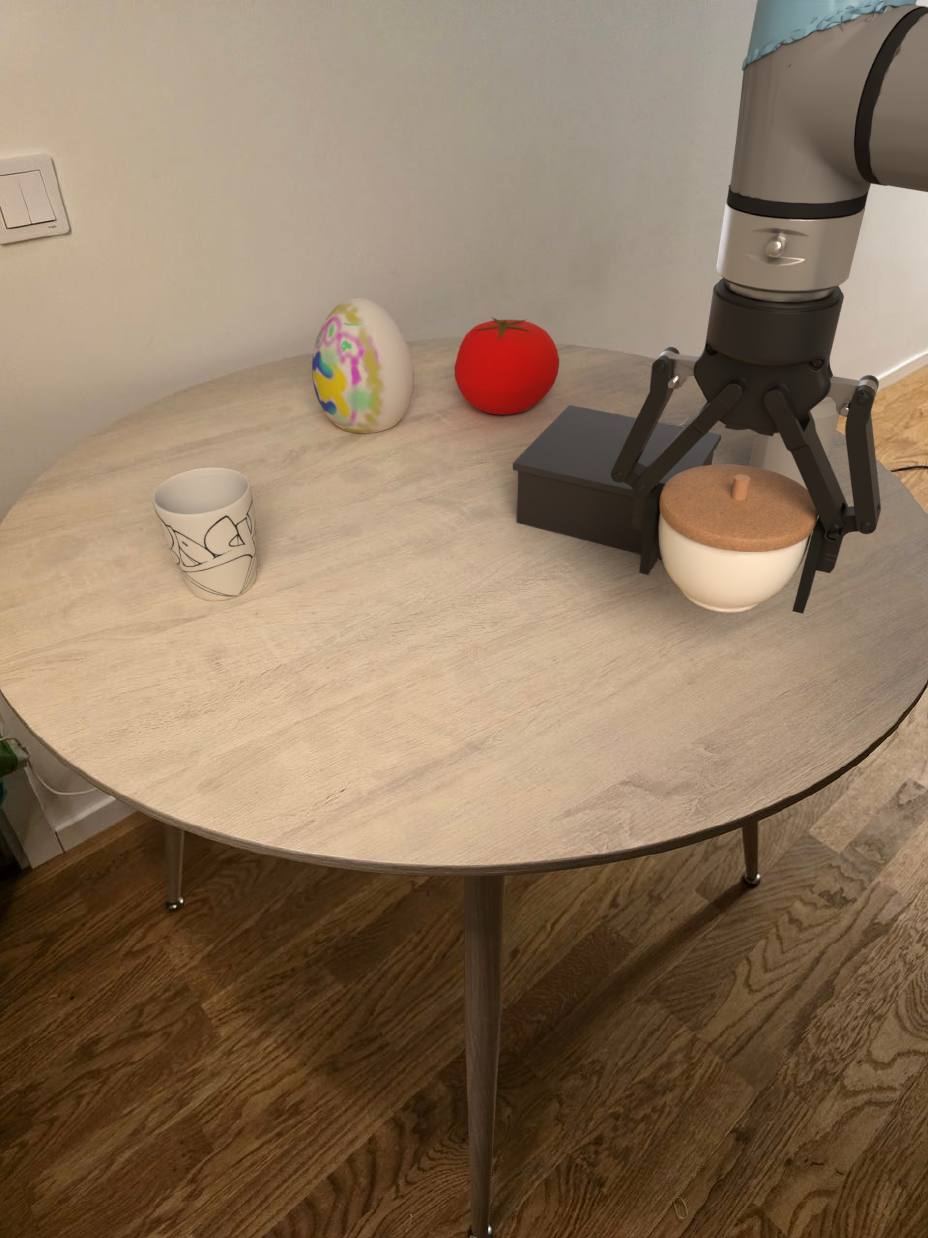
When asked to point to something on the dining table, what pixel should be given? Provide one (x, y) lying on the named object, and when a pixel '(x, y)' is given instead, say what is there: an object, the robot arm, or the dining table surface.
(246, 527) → the mug
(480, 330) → the tomato
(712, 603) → the lidded bowl
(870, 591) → the dining table surface
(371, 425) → the decorative egg
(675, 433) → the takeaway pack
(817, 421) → the can
